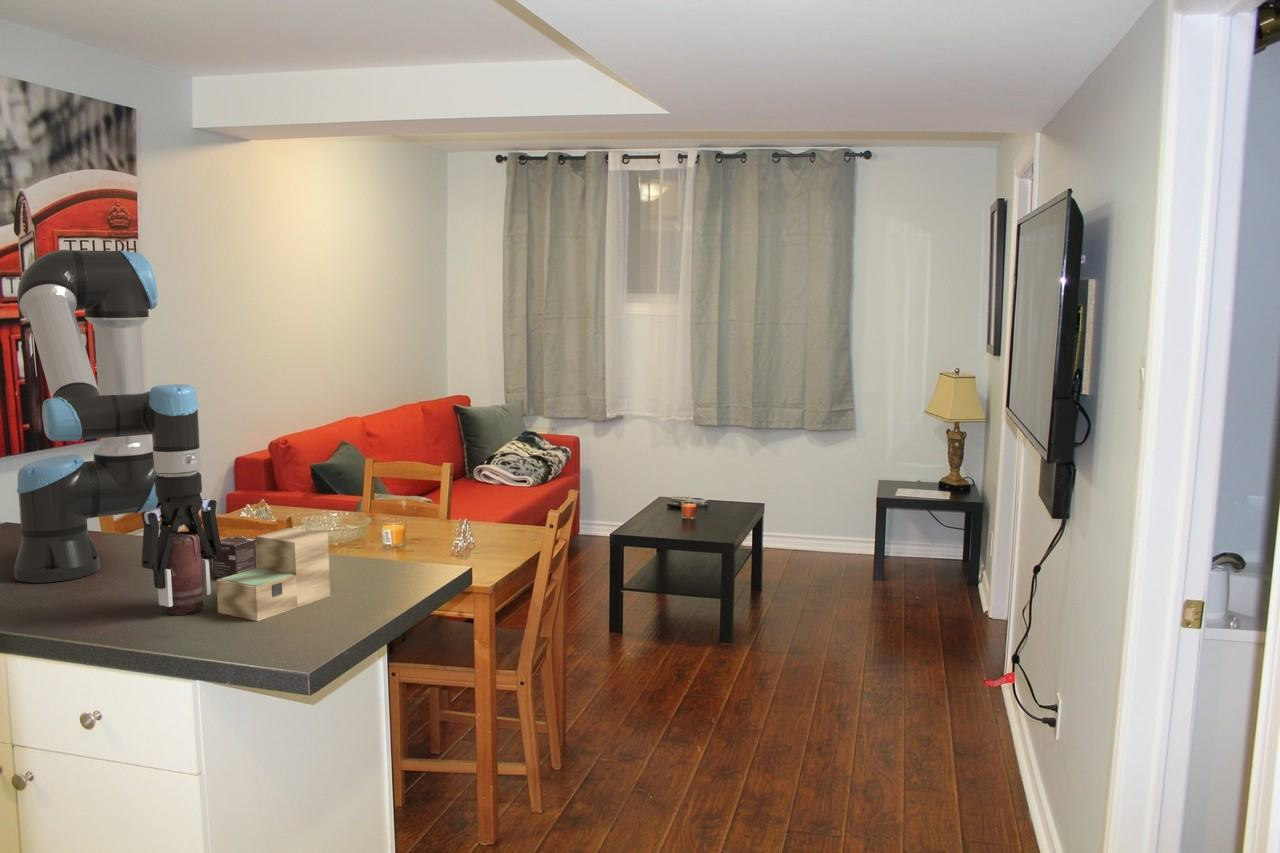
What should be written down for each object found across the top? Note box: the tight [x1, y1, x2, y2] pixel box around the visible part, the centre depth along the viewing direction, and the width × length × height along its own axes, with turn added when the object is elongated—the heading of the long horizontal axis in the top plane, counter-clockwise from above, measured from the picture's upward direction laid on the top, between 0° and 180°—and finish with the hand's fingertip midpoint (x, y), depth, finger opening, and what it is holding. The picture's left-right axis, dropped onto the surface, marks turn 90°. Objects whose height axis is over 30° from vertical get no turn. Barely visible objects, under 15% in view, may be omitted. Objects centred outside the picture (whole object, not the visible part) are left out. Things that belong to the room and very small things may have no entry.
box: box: [212, 535, 257, 579], centre depth 206 cm, size 6×6×7 cm
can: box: [165, 530, 204, 616], centre depth 183 cm, size 6×6×14 cm
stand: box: [216, 527, 331, 622], centre depth 187 cm, size 10×17×12 cm, turn 151°
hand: (185, 599), depth 184 cm, fingers open, 7 cm apart
